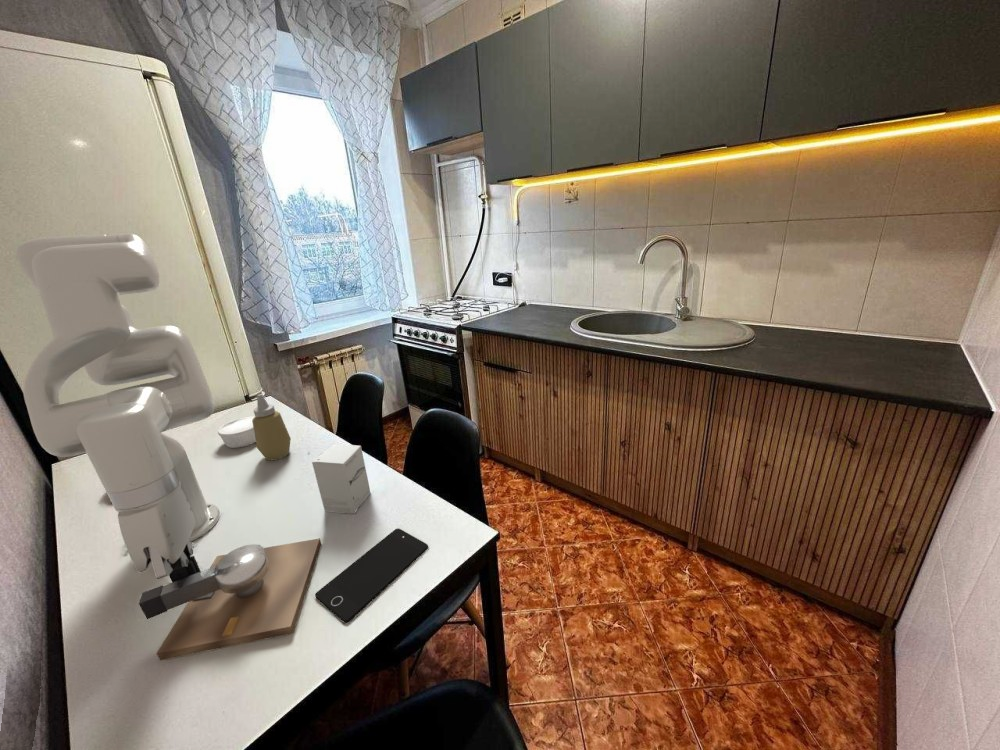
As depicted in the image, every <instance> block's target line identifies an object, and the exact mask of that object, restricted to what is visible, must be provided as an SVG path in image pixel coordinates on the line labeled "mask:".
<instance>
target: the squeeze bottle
mask: <svg viewBox="0 0 1000 750" xmlns="http://www.w3.org/2000/svg"><path fill="white" fill-rule="evenodd" d="M256 399H257V400H256V404H257V405H256V407H254V409H253V414H254V416H253V417H254V418H253V420H252V422H253V428H254V433H255V438H256V442H255V443H256V448H257V450H258V451H259V452H260V453H261V455H262V456H263V457H264V458H265V460H266V461H277V460H280V459H283V458H284V457H286V456H288V454H289V453H290V450H291V448H290V447H291V438H292V437H291V435H290V433H289V432H288V429H287V427H286V424H285V421H284V420H283V417H282V415H281V413H280V412H279V411H277V410H276V409H275V406H274V404H272V403H268V402H267V400H266V399H265V397H264V395H263V394H261V393H260V394H257V395H256Z"/></svg>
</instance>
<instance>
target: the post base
mask: <svg viewBox="0 0 1000 750" xmlns="http://www.w3.org/2000/svg"><path fill="white" fill-rule="evenodd" d="M321 547H322V542H321V538H320V537H319V538H314V539H308V540H303V541H297V542H291V543H285V544H279V545H273V546H269V547H263V548H264V551H265V554H266V556H267V559H268V562H269V570H268V572H267V574H266V575H265V576H264V577H263V579H262V580H260V581H259V582H258V583H257V584H255V585H254V586H252V587H251V588H249V589H247V590H245V591H242V592H239V593H233V594H228V593H224V592H223V591H221V589H219V590H217V591H214V592H212V593H209V594H207V595H204V596H202V597H199V598H197V599H194V600H192V601H189V602H187V603H186V605H185V607H184V609H183V610H182V612H181V613H180V615H179V617H178V618H177V620H176V621H175V623H174V624H173V626H172V627H171V629H170V631H169V632H168V634H167V636H166V637H165V638H164V641H162V643H161V645H160V646H159V649H158V650H157V651H156V656H157V657H158V658H157V659H158V660H159V661H165V660H171V659H175V658H179V657H180V658H181V657H185V656H189V655H190V656H191V655H194V654H201V653H203V652H204V653H205V652H208V651H214V650H218V649H223V648H229V647H233V646H238V645H244V644H248V643H253V642H257V641H262V640H268V639H271V638H272V639H273V638H277V637H282V636H287V635H291V634H294V633H295V629H296V626H297V622H298V620H299V617H300V613H301V610H302V606H303V605H304V604H303V603H304V602H305V601H304V600H305V596H306V594H307V592H308V589H309V585H310V581H311V579H312V575H313V572H314V569H315V566H316V563H317V560H318V558H319V553H320V551H321V549H322V548H321ZM227 554H228V553H227ZM227 554H221V555H217V556H216V557H215V559H214V560H213V562H212V563H211V565H210V567H209V568H212V567H214V566H216V565H217V563H218V562H219V561H220V560H221V559H222V558H223V557H224V556H225V555H227Z"/></svg>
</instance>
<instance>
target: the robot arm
mask: <svg viewBox="0 0 1000 750" xmlns="http://www.w3.org/2000/svg"><path fill="white" fill-rule="evenodd" d="M15 256H16V259H17V262H18V264H19V266H20V268H21V269H22V271H23V273H24V274H25V275H26V277H27V278H28V279H29V281H30V282H31V284H32V285H33V286H34V287H35V288H36V289H37V290H38V292H39V296H40V299H41V301H42V305H43V308H44V310H45V314H46V317H47V320H48V324H49V326H50V329H51V333H52V339H50V341H49V342H48V343H46V345H45V346H44V347H43V348H42V350H41V351H40V352H39V353H38V354H37V355H36V357H35V358H34V359H33V361H32V362H31V365H30V366H29V368H28V370H27V373H26V375H25V377H24V382H23V399H24V403H25V405H26V408H27V413H28V416H29V417H28V418H29V419H30V424H31V427H32V430H33V433H34V435H35V437H36V440H37V442H38V443H39V445H40V446H41V448H42V449H44V450H45V452H47V453H48V454H50V455H52V456H55V457H61V458H65V457H75V456H78V455H82V454H86V455H87V457H88V459H89V461H90V462H91V464H92V467H93V468H94V470H95V472H96V474H97V476H98V478H99V480H100V482H101V484H102V487H103V489H104V490H105V492H106V494H107V496H108V499H109V500H110V503H111V504H112V506H113V508H114V510H115V511H116V512H118V513H117V519H118V524H119V529H120V533H121V536H122V540H123V543H124V545H125V548H126V550H127V552H128V553H127V554H128V555H129V557H130V559H131V560H130V561H132V564H133V566H134V569H135V570H136V571H137V572H138V573H140V574H141V573H145V572H146V571H147V570H148V568H149V566H150V564H151V563H152V567H153V571H154V574H155V577H156V579H158V580H160V579H162V578H166V577H169V579H170V580H171V583H172V582H175V581H177V580H180V579H183V578H185V577H188V576H191V575H193V574H196V573H199V572H201V571H202V570H201V569H200V567H199V564H198V562H197V560H196V557H195V555H194V548H193V545H192V543H191V542H193V541H195V540H197V539H198V538H200V537H201V536H203V535H205V534H206V533H207V532H208V531H210V530H211V529H212V528H214V526H215V525H216V524H217V522H218V521H219V519H220V516H221V513H220V509H219V508H218V506H216V504H213V503H207V502H206V500H205V497H204V494H203V492H202V489H201V487H200V485H199V481H198V480H197V477H196V475H195V471H194V469H193V467H192V464H191V462H190V459H189V457H188V455H187V452H186V450H185V447H184V445H182V443H180V442H179V441H178V440H176V439H175V438H173V437H171V436H169V435H167V434H164V432H167V431H169V430H173V429H175V428H180V427H183V426H187V425H190V424H193V423H196V422H201V421H203V420H205V419H207V418H209V417H210V416H211V415H213V413H214V411H215V401H214V398H213V397H214V396H213V394H212V392H211V389H210V387H209V384H208V382H207V379H206V375H205V374H204V372H203V369H202V366H201V363H200V360H198V356H197V354H196V351H195V349H194V347H193V344H192V342H191V340H190V339H189V337H188V335H187V334H186V333H185V331H184V330H183V329H181V328H180V327H177V326H174V325H170V324H169V325H167V324H166V325H159V326H158V325H157V326H151V327H150V326H149V327H144V328H139V329H138V328H136V327H135V325H134V322H133V320H132V317H131V314H130V311H129V310H128V308H127V307H126V306H124V305H123V304H122V303H121V301H120V298H119V296H122V295H123V296H124V295H125V296H126V295H132V294H140V293H148V292H153V291H156V290H157V289H158V288H159V286H160V275H159V274H160V273H159V270H158V267H157V264H156V261H155V259H154V256H153V255H152V252H151V250H150V248H149V247H148V245H147V244H146V242H145V241H144V240H143V239H142V238H141V237H140V236H138V235H136V234H134V233H110V234H109V233H108V234H106V233H105V234H87V235H86V234H85V235H82V234H81V235H80V234H79V235H78V234H77V235H60V236H47V237H39V238H32V239H30V240H26V241H25V242H22V243H20V244H19V245H18V246H17V248H16V249H15ZM83 367H84V369H85V371H86V374H87V375H88V378H90V379H91V380H92V381H93V382H94V383H96V384H98V385H101V386H118V385H123V384H128V383H133V382H138V381H142V380H143V381H144V380H148V379H152V378H157V377H161V376H165V375H170V376H172V377H169V378H165V379H160V380H156V381H151V382H145V383H142V384H135V385H131V386H128V387H123V388H119V389H116V390H112V391H108V392H106V393H104V394H100V395H95V396H92V397H87V398H82V399H79V400H73V401H69V402H64V403H61V404H60V398H59V397H60V391H61V388H62V387H63V385H64V384H65V382H66V381H67V380H68V379H69V378H70V377H71V376H72V375H74V373H76V372H77V371H79V370H80V369H81V368H83Z"/></svg>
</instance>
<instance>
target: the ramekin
mask: <svg viewBox="0 0 1000 750" xmlns="http://www.w3.org/2000/svg"><path fill="white" fill-rule="evenodd" d="M254 417H255V416H246V417H241V418H240V417H239V418H236V419H234V420H230V421H228V422H226V423H224V424H223V425H220V427H219V428H218V429H217V434H218V436H220V438H221V440H222V442H223V444H224V445H225V446H226V447H229V448H231V449H237V448H243V447H247V446H250V445H252V444H255V443H256V438H255V433H254V428H253V422H252V420H253V418H254Z"/></svg>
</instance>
